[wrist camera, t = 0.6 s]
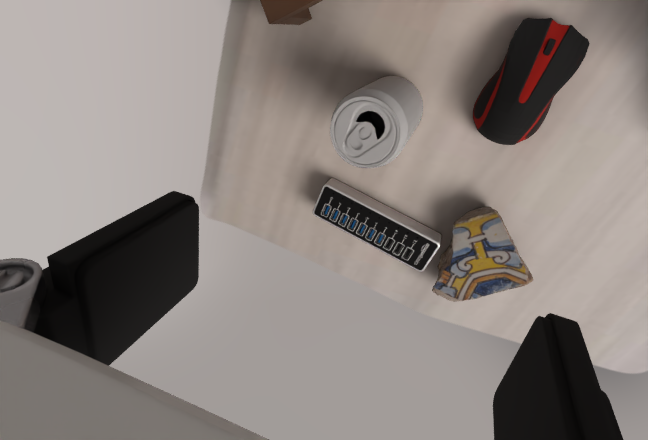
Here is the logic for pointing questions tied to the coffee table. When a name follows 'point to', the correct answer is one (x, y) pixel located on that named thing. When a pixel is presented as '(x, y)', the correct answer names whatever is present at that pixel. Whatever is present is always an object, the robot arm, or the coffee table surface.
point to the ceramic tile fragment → (480, 259)
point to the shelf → (288, 11)
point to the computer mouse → (528, 80)
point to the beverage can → (376, 122)
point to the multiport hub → (377, 224)
